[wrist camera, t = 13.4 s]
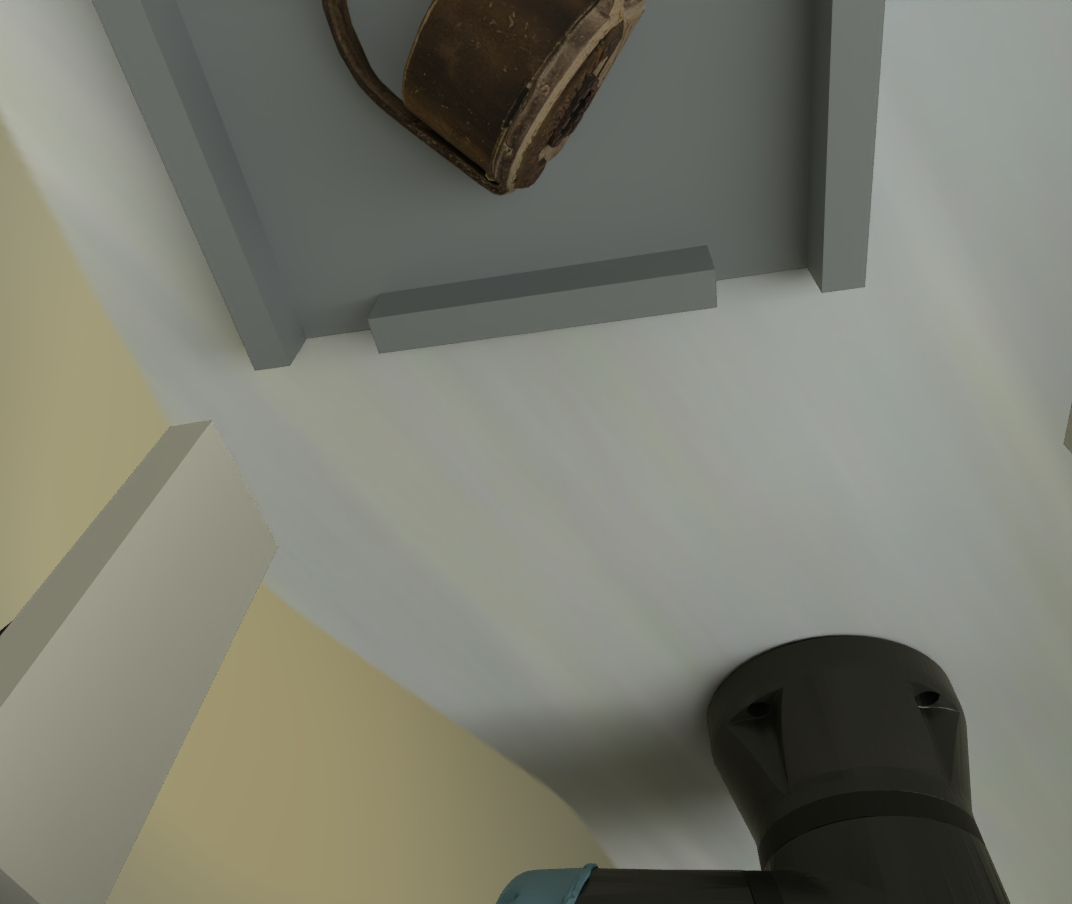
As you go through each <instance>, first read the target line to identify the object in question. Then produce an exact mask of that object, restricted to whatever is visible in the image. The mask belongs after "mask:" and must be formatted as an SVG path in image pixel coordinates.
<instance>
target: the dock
mask: <svg viewBox="0 0 1072 904" xmlns="http://www.w3.org/2000/svg"><path fill="white" fill-rule="evenodd" d="M432 1H433V0H347V5H348V9H349V13H350V18H351V22H352V25H353V27H354V30H355V32H356V34H357V37H358V39H359V41H360V43H361V46H362V48H363V50H364V52H365V55H366V57H367V59H368V61H369V64H370V66H371V68H372V69H373V71H374V72H375V74H376V75H377V76H378V78H379V79H380V80H381V81H382V82H383V83H384V84H385V85H386V86H387V87H388V88H389V89H390V90H391V91H392V92H393V93H394V94H395V95H396V96H397V97H399V98H400V99H401V100H403V97H402V80H403V71H404V68H405V65H406V62H407V59H408V55H409V53H410V50H411V47H412V45H413V42H414V40H415V37H416V34H417V32H418V29H419V26H420V24H421V21H422V19H423V17H424V16H425V14H426V12H427V10H428V8H429V6H430V5H431V3H432ZM92 2H93V4H94V6H95V9H96V11H97V13H98V15H99V18H100V20H101V22H102V25H103V27H104V29H105V31H106V34H107V36H108V38H109V40H110V43H111V45H112V47H113V50H114V52H115V54H116V56H117V59H118V61H119V63H120V65H121V68H122V70H123V72H124V74H125V77H126V79H127V81H128V84H129V86H130V88H131V90H132V93H133V95H134V97H135V99H136V102H137V104H138V106H139V109H140V111H141V113H142V115H143V118H144V120H145V122H146V124H147V127H148V129H149V131H150V133H151V136H152V138H153V140H154V143H155V145H156V147H157V149H158V152H159V154H160V156H161V158H162V161H163V163H164V165H165V168H166V170H167V172H168V174H169V177H170V179H171V181H172V183H173V186H174V188H175V190H176V192H177V195H178V197H179V199H180V202H181V204H182V206H183V208H184V211H185V213H186V215H187V217H188V220H189V222H190V224H191V227H192V229H193V231H194V233H195V236H196V238H197V240H198V242H199V245H200V247H201V249H202V252H203V254H204V256H205V258H206V261H207V263H208V265H209V267H210V270H211V272H212V274H213V276H214V279H215V281H216V283H217V286H218V288H219V290H220V292H221V295H222V297H223V299H224V301H225V304H226V306H227V308H228V311H229V313H230V315H231V317H232V320H233V322H234V324H235V326H236V329H237V331H238V333H239V335H240V338H241V340H242V342H243V345H244V347H245V349H246V351H247V354H248V356H249V358H250V360H251V363H252V365H253V367H254V370H262V369H269V368H277V367H284V366H290V364H291V363H292V361H293V360H294V358H295V356H296V355H297V353H298V352H299V350H300V348H301V347H302V345H303V343H304V342H305V340H306V339H307V338H313V337H320V336H327V335H334V334H342V333H349V332H356V331H363V330H370V329H371V331H372V334H373V337H374V340H375V343H376V346H377V349H378V352H379V353H386V352H394V351H401V350H408V349H416V348H423V347H430V346H437V345H445V344H452V343H459V342H467V341H474V340H481V339H489V338H496V337H503V336H510V335H518V334H525V333H532V332H540V331H547V330H554V329H562V328H569V327H576V326H584V325H591V324H598V323H605V322H613V321H620V320H627V319H635V318H642V317H649V316H657V315H664V314H671V313H679V312H686V311H693V310H700V309H708V308H715V307H717V296H716V280H722V279H729V278H737V277H744V276H751V275H758V274H765V273H772V272H779V271H786V270H793V269H800V268H808V270H809V272H810V274H811V275H812V277H813V279H814V280H815V282H816V284H817V285H818V287H819V289H820V291H821V292H822V293H825V292H832V291H839V290H847V289H854V288H861V287H865V278H866V264H867V250H868V236H869V222H870V208H871V194H872V180H873V166H874V151H875V137H876V123H877V109H878V95H879V81H880V67H881V53H882V38H883V24H884V10H885V0H645V5H646V7H645V11H644V12H643V14H642V16H641V17H640V19H639V21H638V23H637V24H636V26H635V28H634V29H633V31H632V33H631V35H630V36H629V38H628V40H627V42H626V43H625V45H624V47H623V49H622V50H621V52H620V54H619V56H618V57H617V59H616V61H615V62H614V64H613V66H612V68H611V70H610V71H609V73H608V75H607V77H606V78H605V80H604V82H603V84H602V85H601V87H600V89H599V90H598V92H597V94H596V96H595V97H594V99H593V101H592V102H591V104H590V106H589V107H588V109H587V110H586V111H585V113H584V115H583V118H582V119H581V121H580V122H579V124H578V125H577V127H576V129H575V130H574V132H573V133H572V134H571V135H570V137H569V138H568V140H567V142H566V143H565V145H564V147H563V148H562V150H561V151H560V152H559V153H558V154H557V155H556V156H555V157H553V158H552V159H551V160H550V161H549V162H547V163H546V166H545V168H544V170H543V172H542V173H541V175H540V177H539V178H538V179H537V180H536V181H535V183H534V184H533V185H531V186H530V187H529V188H523V189H516V190H515V191H514V192H512V193H509V194H506V195H501V196H499V195H494V194H493V193H491V192H490V191H488V190H487V189H485V188H484V187H482V186H481V185H479V184H478V183H477V182H475V181H474V180H473V179H471V178H470V177H469V176H467V175H466V174H465V173H463V172H462V171H461V170H459V169H458V168H457V167H455V166H454V165H453V164H451V163H450V162H449V161H447V160H446V159H445V158H443V157H442V156H441V155H440V154H438V153H437V152H436V151H434V150H433V149H432V148H430V147H429V146H428V145H426V144H425V143H424V142H422V141H421V140H420V139H418V138H417V137H416V136H415V135H413V134H412V133H411V132H409V131H408V130H407V129H405V128H404V127H403V126H401V125H400V124H399V123H397V122H396V121H395V120H394V119H392V118H391V117H390V116H389V115H387V114H386V113H385V112H384V111H383V110H382V109H380V108H379V107H378V106H377V105H376V104H375V103H374V102H373V101H372V100H371V99H370V98H369V97H368V96H367V95H366V93H365V92H364V91H363V90H362V89H361V88H360V87H359V86H358V84H357V83H356V81H355V79H354V78H353V76H352V74H351V73H350V71H349V69H348V67H347V66H346V64H345V62H344V61H343V59H342V57H341V56H340V54H339V52H338V50H337V47H336V45H335V42H334V40H333V37H332V34H331V31H330V28H329V25H328V22H327V19H326V16H325V13H324V10H323V7H322V0H92Z"/></svg>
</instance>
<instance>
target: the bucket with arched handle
mask: <svg viewBox="0 0 1072 904" xmlns="http://www.w3.org/2000/svg"><path fill="white" fill-rule="evenodd" d="M322 7H323V10H324V13H325V16H326V19H327V22H328V25H329V28H330V31H331V34H332V37H333V40H334V42H335V45H336V47H337V50H338V52H339V54H340V56H341V57H342V59H343V61H344V62H345V64H346V66H347V67H348V69H349V71H350V73H351V74H352V76H353V78H354V79H355V81H356V83H357V84H358V86H359V87H360V88H361V89H362V90H363V91H364V92H365V93H366V95H367V96H368V97H369V98H370V99H371V100H372V101H373V102H374V103H375V104H376V105H377V106H378V107H379V108H380V109H382V110H383V111H384V112H385V113H386V114H387V115H389V116H390V117H391V118H392V119H394V120H395V121H396V122H397V123H399V124H400V125H401V126H403V127H404V128H405V129H407V130H408V131H409V132H411V133H412V134H413V135H415V136H416V137H417V138H418V139H420V140H421V141H422V142H424V143H425V144H426V145H428V146H429V147H430V148H432V149H433V150H434V151H436V152H437V153H438V154H440V155H441V156H442V157H443V158H445V159H446V160H447V161H449V162H450V163H451V164H453V165H454V166H455V167H457V168H458V169H459V170H461V171H462V172H463V173H465V174H466V175H467V176H469V177H470V178H471V179H473V180H474V181H475V182H477V183H478V184H479V185H481V186H482V187H484V188H485V189H487V190H488V191H490V192H491V193H493V194H494V195H499V196H501V195H506V194H509V193H512V192H514V191H515V190H516V189H523V188H529V187H530V186H531V185H533V184H534V183H535V181H536V180H537V179H538V178H539V177H540V175H541V173H542V172H543V170H544V168H545V166H546V163H547V162H549V161H550V160H551V159H552V158H553V157H555V156H556V155H557V154H558V153H559V152H560V151H561V150H562V148H563V147H564V145H565V143H566V142H567V140H568V138H569V137H570V135H571V134H572V133H573V132H574V130H575V129H576V127H577V125H578V124H579V122H580V121H581V119H582V118H583V115H584V113H585V111H586V110H587V109H588V107H589V106H590V104H591V102H592V101H593V99H594V97H595V96H596V94H597V92H598V90H599V89H600V87H601V85H602V84H603V82H604V80H605V78H606V77H607V75H608V73H609V71H610V70H611V68H612V66H613V64H614V62H615V61H616V59H617V57H618V56H619V54H620V52H621V50H622V49H623V47H624V45H625V43H626V42H627V40H628V38H629V36H630V35H631V33H632V31H633V29H634V28H635V26H636V24H637V23H638V21H639V19H640V17H641V16H642V14H643V12H644V11H645V7H646V5H645V0H433V1H432V3H431V5H430V6H429V8H428V10H427V12H426V14H425V16H424V17H423V19H422V21H421V24H420V26H419V29H418V32H417V34H416V37H415V40H414V42H413V45H412V47H411V50H410V53H409V55H408V59H407V62H406V65H405V68H404V71H403V80H402V97H403V100H401V99H400V98H399V97H397V96H396V95H395V94H394V93H393V92H392V91H391V90H390V89H389V88H388V87H387V86H386V85H385V84H384V83H383V82H382V81H381V80H380V79H379V78H378V76H377V75H376V74H375V72H374V71H373V69H372V68H371V66H370V64H369V61H368V59H367V57H366V55H365V52H364V50H363V48H362V46H361V43H360V41H359V39H358V37H357V34H356V32H355V30H354V27H353V25H352V22H351V18H350V13H349V9H348V5H347V0H322Z"/></svg>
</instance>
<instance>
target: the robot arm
mask: <svg viewBox="0 0 1072 904" xmlns="http://www.w3.org/2000/svg"><path fill="white" fill-rule="evenodd" d="M1064 445H1065V446H1066V448H1067V449H1068V450H1069V451H1070V452H1071V453H1072V404H1071V409H1070V414H1069V419H1068V424H1067V429H1066V434H1065V439H1064ZM277 548H278V545H277V543H276V541H275V539H274V537H273V536H272V534H271V532H270V530H269V528H268V526H267V524H266V522H265V520H264V518H263V516H262V514H261V512H260V510H259V509H258V507H257V505H256V503H255V501H254V499H253V497H252V495H251V493H250V491H249V489H248V487H247V485H246V483H245V481H244V480H243V478H242V476H241V474H240V472H239V470H238V468H237V466H236V464H235V462H234V460H233V458H232V456H231V454H230V453H229V451H228V449H227V447H226V445H225V443H224V441H223V439H222V437H221V435H220V433H219V431H218V429H217V427H216V426H215V424H214V422H213V420H209V421H202V422H196V423H190V424H184V425H177V426H171V427H169V428H168V430H167V431H166V432H165V433H164V435H163V436H162V437H161V438H160V440H159V441H158V442H157V443H156V444H155V446H154V447H153V448H152V450H151V451H150V452H149V453H148V454H147V456H146V457H145V458H144V459H143V461H142V462H141V463H140V464H139V466H138V467H137V468H136V469H135V470H134V472H133V473H132V474H131V475H130V477H129V478H128V479H127V480H126V482H125V483H124V484H123V485H122V487H121V488H120V489H119V490H118V491H117V493H116V494H115V495H114V496H113V498H112V499H111V500H110V501H109V502H108V504H107V505H106V506H105V507H104V509H103V510H102V511H101V512H100V514H99V515H98V516H97V517H96V519H95V520H94V521H93V522H92V523H91V525H90V526H89V527H88V528H87V530H86V531H85V532H84V533H83V535H82V536H81V537H80V538H79V540H78V541H77V542H76V543H75V545H74V546H73V547H72V548H71V549H70V551H69V552H68V553H67V554H66V556H65V557H64V558H63V559H62V561H61V562H60V563H59V564H58V565H57V567H56V568H55V569H54V570H53V572H52V573H51V574H50V575H49V576H48V578H47V579H46V580H45V582H44V583H43V584H42V585H41V586H40V588H39V589H38V590H37V591H36V593H35V594H34V595H33V596H32V598H31V599H30V600H29V601H28V602H27V604H26V605H25V606H24V607H23V609H22V610H21V611H20V612H19V614H18V615H17V616H16V617H15V619H14V620H13V621H12V622H10V623H9V624H8V625H7V626H5V627H4V628H3V629H2V630H1V631H0V904H105V903H106V900H107V898H108V896H109V894H110V892H111V890H112V888H113V886H114V884H115V882H116V880H117V878H118V876H119V874H120V872H121V870H122V868H123V865H124V863H125V861H126V859H127V857H128V855H129V853H130V851H131V849H132V847H133V845H134V843H135V841H136V839H137V836H138V834H139V832H140V830H141V828H142V826H143V824H144V822H145V820H146V818H147V816H148V814H149V812H150V810H151V808H152V806H153V804H154V802H155V799H156V797H157V795H158V793H159V791H160V789H161V787H162V785H163V783H164V781H165V779H166V777H167V775H168V773H169V771H170V769H171V767H172V765H173V762H174V760H175V758H176V756H177V754H178V752H179V750H180V748H181V746H182V744H183V742H184V740H185V738H186V736H187V734H188V732H189V730H190V727H191V725H192V723H193V721H194V719H195V717H196V715H197V713H198V711H199V709H200V707H201V705H202V703H203V701H204V698H205V697H206V695H207V692H208V690H209V688H210V686H211V684H212V682H213V680H214V678H215V676H216V674H217V672H218V670H219V668H220V666H221V664H222V662H223V659H224V657H225V655H226V653H227V651H228V649H229V647H230V645H231V643H232V641H233V639H234V636H235V635H236V632H237V631H238V629H239V627H240V624H241V622H242V620H243V618H244V616H245V614H246V612H247V610H248V608H249V606H250V604H251V602H252V600H253V598H254V596H255V594H256V592H257V589H258V587H259V585H260V583H261V581H262V579H263V577H264V575H265V573H266V571H267V569H268V567H269V565H270V563H271V561H272V559H273V557H274V554H275V552H276V550H277ZM707 724H708V731H709V738H710V745H711V751H712V756H713V759H714V762H715V765H716V767H717V769H718V771H719V773H720V775H721V777H722V779H723V781H724V783H725V785H726V787H727V789H728V790H729V792H730V794H731V796H732V798H733V800H734V802H735V804H736V806H737V808H738V810H739V811H740V813H741V815H742V817H743V819H744V821H745V823H746V825H747V827H748V829H749V831H750V832H751V834H752V836H753V838H754V840H755V843H756V845H757V850H758V855H759V860H760V865H761V871H743V870H652V869H607V868H606V869H605V868H598V866H597V864H592V863H590V864H586V865H585V866H584V867H583V868H565V869H545V870H532V871H527V872H524V873H522V874H520V875H518V876H517V877H515V878H514V879H513V880H512V881H511V882H510V883H509V884H508V885H507V886H506V887H505V889H504V890H503V892H502V893H501V895H500V897H499V898H498V900H497V903H496V904H1010V901H1009V899H1008V897H1007V894H1006V892H1005V890H1004V887H1003V885H1002V883H1001V881H1000V878H999V876H998V874H997V871H996V869H995V867H994V864H993V862H992V860H991V857H990V855H989V853H988V850H987V848H986V846H985V843H984V841H983V839H982V836H981V834H980V831H979V829H978V827H977V824H976V822H975V819H974V817H973V813H972V804H971V788H970V772H969V756H968V740H967V726H966V720H965V716H964V712H963V709H962V707H961V704H960V702H959V700H958V698H957V696H956V694H955V691H954V689H953V687H952V685H951V683H950V680H949V679H948V677H947V675H946V674H945V672H944V671H943V670H942V669H941V668H940V666H939V665H937V664H936V663H935V662H934V661H933V660H931V659H930V658H929V657H927V656H926V655H924V654H922V653H921V652H919V651H917V650H915V649H912V648H910V647H908V646H905V645H902V644H899V643H895V642H892V641H887V640H883V639H877V638H869V637H855V636H841V637H827V638H819V639H812V640H807V641H802V642H798V643H794V644H790V645H787V646H784V647H781V648H778V649H775V650H773V651H770V652H768V653H765V654H763V655H761V656H759V657H757V658H755V659H754V660H752V661H750V662H748V663H747V664H745V665H744V666H742V667H741V668H739V669H738V670H737V671H735V672H734V673H733V674H732V675H731V676H730V677H729V678H728V679H726V680H725V682H724V683H723V684H722V685H721V686H720V688H719V689H718V690H717V692H716V693H715V695H714V697H713V699H712V701H711V703H710V706H709V710H708V716H707Z"/></svg>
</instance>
